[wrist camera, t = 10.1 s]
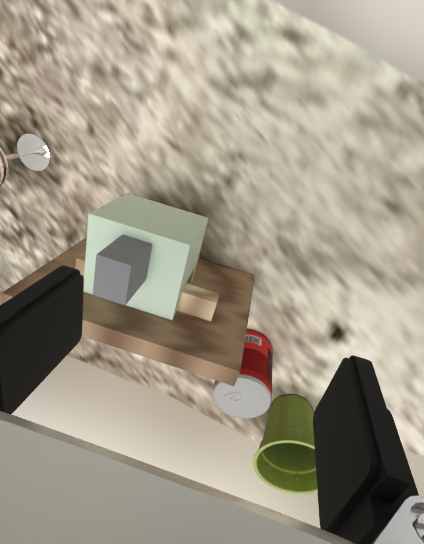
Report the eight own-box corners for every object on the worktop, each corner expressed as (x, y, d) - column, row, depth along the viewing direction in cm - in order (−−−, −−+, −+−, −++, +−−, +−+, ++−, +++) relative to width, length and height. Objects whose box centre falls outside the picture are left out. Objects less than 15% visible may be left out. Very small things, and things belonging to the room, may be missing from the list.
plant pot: (328, 385, 54) (339, 447, 44) (323, 434, 59) (331, 499, 49) (257, 379, 56) (252, 437, 47) (257, 427, 62) (253, 488, 52)
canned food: (216, 337, 54) (202, 387, 44) (258, 321, 51) (253, 370, 41) (238, 370, 56) (230, 424, 47) (280, 356, 53) (281, 411, 44)
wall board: (260, 260, 47) (248, 351, 29) (239, 318, 51) (218, 425, 34) (103, 212, 48) (-1, 271, 30) (97, 272, 53) (6, 353, 35)
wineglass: (6, 123, 45) (-78, 127, 34) (52, 129, 44) (-21, 135, 33) (15, 174, 48) (-60, 192, 37) (58, 180, 47) (-6, 200, 36)
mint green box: (208, 218, 38) (174, 267, 25) (192, 281, 42) (156, 351, 30) (128, 193, 38) (56, 230, 26) (119, 258, 42) (53, 317, 30)
